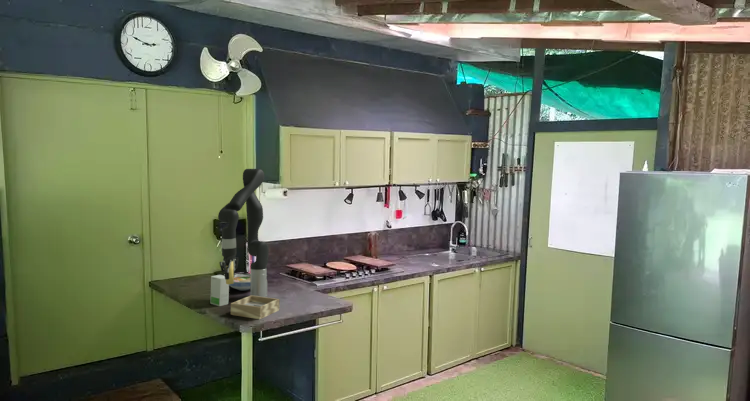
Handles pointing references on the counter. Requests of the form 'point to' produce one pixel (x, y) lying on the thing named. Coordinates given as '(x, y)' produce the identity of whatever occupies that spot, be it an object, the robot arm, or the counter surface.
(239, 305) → the box
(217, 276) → the skincare box
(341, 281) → the counter surface
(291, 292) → the counter surface
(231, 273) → the peg
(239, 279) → the ramen bowl
